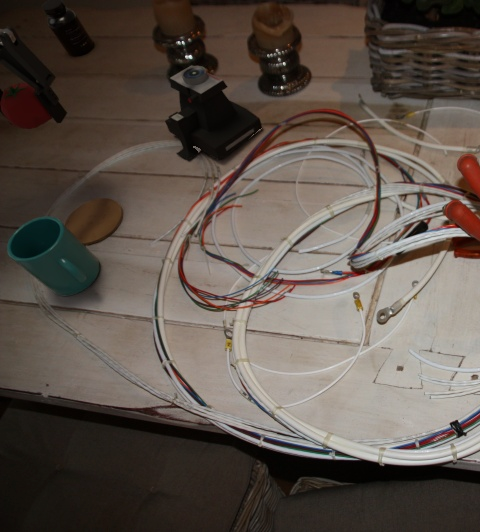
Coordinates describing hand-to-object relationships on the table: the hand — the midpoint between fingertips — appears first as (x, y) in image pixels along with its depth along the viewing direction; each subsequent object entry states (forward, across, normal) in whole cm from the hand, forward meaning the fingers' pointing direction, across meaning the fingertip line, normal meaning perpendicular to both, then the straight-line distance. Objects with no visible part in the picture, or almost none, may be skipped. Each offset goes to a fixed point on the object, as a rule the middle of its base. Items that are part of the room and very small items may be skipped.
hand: (39, 118), depth 98 cm
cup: (+16, +9, -24) cm, 30 cm away
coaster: (+16, +6, -11) cm, 20 cm away
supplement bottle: (+16, -21, +45) cm, 52 cm away
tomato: (0, 0, 0) cm, 0 cm away
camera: (+16, +23, +12) cm, 30 cm away
